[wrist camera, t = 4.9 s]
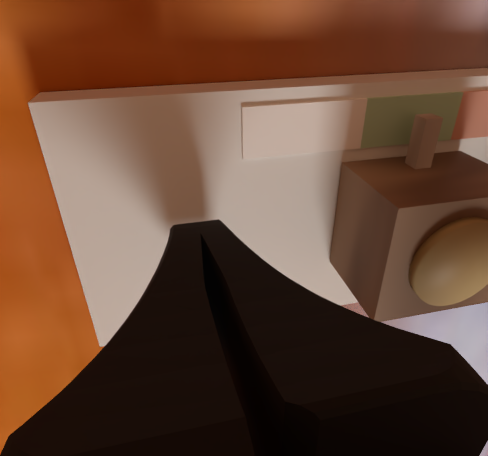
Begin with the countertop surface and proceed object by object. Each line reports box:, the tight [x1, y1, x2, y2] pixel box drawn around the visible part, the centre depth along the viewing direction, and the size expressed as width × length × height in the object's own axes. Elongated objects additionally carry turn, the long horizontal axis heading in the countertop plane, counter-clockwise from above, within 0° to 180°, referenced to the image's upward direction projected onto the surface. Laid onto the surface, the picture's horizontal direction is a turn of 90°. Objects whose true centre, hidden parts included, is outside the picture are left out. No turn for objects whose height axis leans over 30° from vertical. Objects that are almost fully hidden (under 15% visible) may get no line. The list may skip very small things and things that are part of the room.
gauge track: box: [28, 68, 488, 347], centre depth 13 cm, size 16×8×1 cm, turn 91°
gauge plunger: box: [330, 113, 488, 322], centre depth 11 cm, size 4×5×3 cm
